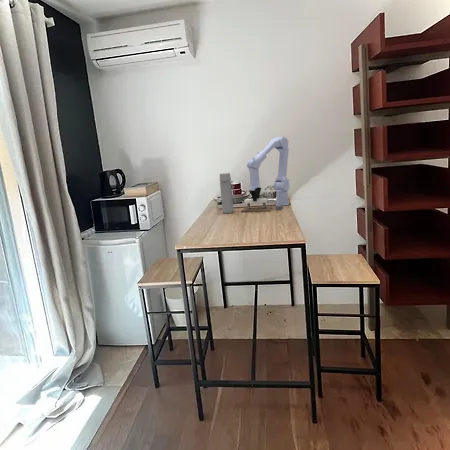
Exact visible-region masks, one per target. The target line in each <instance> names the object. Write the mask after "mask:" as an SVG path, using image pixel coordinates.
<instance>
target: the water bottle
mask: <svg viewBox="0 0 450 450" xmlns="http://www.w3.org/2000/svg"><path fill="white" fill-rule="evenodd" d="M233 183H234V182H233V180H232V179H231V172H222V173H219V185H220V186H219V187H220V195H221V196H220V197H221V208H222V209H221V210H222V213H223V214H233V212H234V205H236V203H237V201H236V199H234V198H236V197H235V194H234V193H235V190H234V186H233Z"/></svg>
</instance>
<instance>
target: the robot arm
mask: <svg viewBox="0 0 450 450" xmlns="http://www.w3.org/2000/svg"><path fill="white" fill-rule="evenodd" d="M274 148H275V150H277V151H278V153H279V159H278V167H277V168H278V170H277V171H278V172H277V177H276V178H275V179H274V183H273V189H274V190H275V192H276V193H275V194H276V204H275V206H276V205H277V204H282V206H289V204H290V201H288V200H289V199H288V197H289V196H288V191H289V190H290V180H289V179H288V177H287V172H288V161H289V160H288V159H289V140H288V138H287V137H286V136H279V137H278V136H277V137H275V136H274V137H272V139H270V140H269V143H268V144H267V145H266V146H265V147H264V149H262V150H258V151H257V154H256V155H254V156H253V157H252V159H249V160H248V161H247V164H246V166H247V168H248V171H249V182H250V185H248V188H250V189H249V193H250V196H251V199H253V201H257V199H258V198H260V195H261V191H262V187H261V185H260V184H261V183H260V182H261V181H260V172H259V168H260V167H261V164H262V162H264V160H265V159H266V158H267V155H268V154H269V153H270V152H271V151H272V150H274Z"/></svg>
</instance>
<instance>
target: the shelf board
mask: <svg viewBox="0 0 450 450" xmlns="http://www.w3.org/2000/svg"><path fill="white" fill-rule="evenodd" d="M268 198H269V197H265V198H264V197H263V198H262V197H261V198H260V197H259V198H258V199H257V201H253V199H252V198H245V199H244V204H247V203H250V204H263V203H268V200H269V199H268Z"/></svg>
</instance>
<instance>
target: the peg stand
mask: <svg viewBox="0 0 450 450" xmlns="http://www.w3.org/2000/svg"><path fill="white" fill-rule="evenodd" d="M266 203H267V202H266ZM266 203H262V206H254V207H252V206H251V203H246V204H247V205H246V206H247V207H246V206H245V207H243V209H241V210H240V212H241V213H265V212H270V213H271V211H272V210H273V206H266V205H267V204H266Z"/></svg>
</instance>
